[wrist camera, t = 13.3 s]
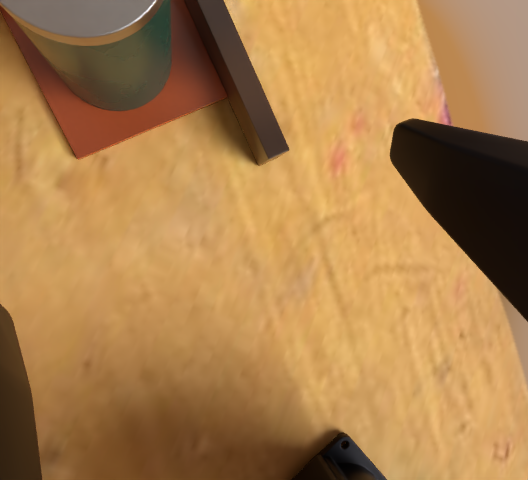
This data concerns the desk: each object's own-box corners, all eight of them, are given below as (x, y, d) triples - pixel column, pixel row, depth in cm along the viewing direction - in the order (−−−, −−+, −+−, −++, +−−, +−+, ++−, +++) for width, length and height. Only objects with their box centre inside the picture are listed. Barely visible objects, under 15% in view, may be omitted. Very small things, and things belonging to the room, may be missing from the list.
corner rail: (277, 157, 23) (290, 149, 20) (87, 244, 21) (76, 247, 18) (168, -86, 21) (167, -128, 18) (-51, -16, 19) (-84, -52, 16)
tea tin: (188, 95, 21) (196, 13, 13) (76, 126, 20) (7, 57, 12) (150, -15, 20) (134, -178, 12) (33, 9, 19) (-73, -150, 11)
